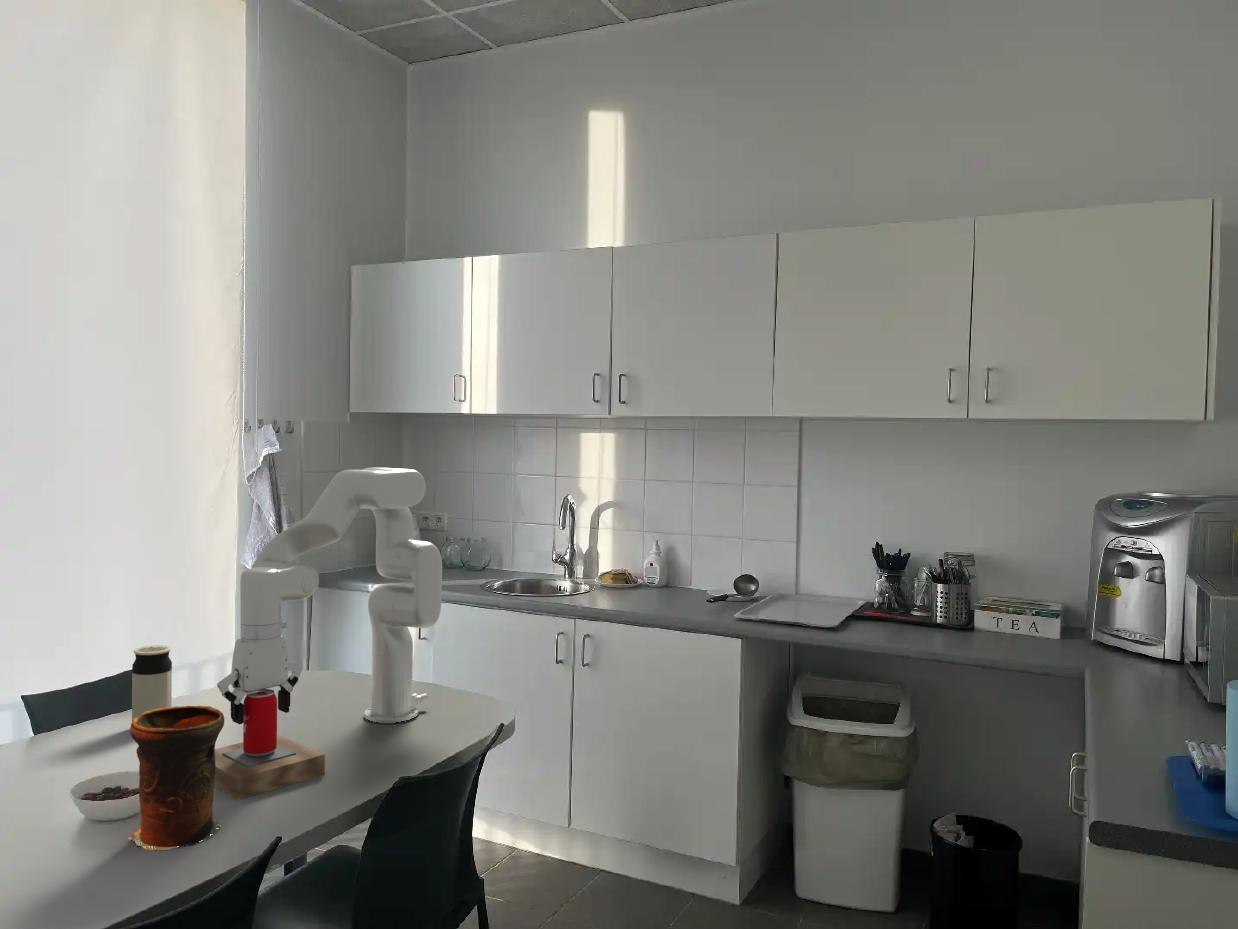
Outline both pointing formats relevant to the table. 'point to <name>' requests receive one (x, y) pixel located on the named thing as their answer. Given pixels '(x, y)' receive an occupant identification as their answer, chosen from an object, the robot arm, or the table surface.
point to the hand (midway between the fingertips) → (261, 716)
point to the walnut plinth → (265, 768)
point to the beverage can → (260, 722)
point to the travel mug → (151, 679)
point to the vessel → (176, 775)
